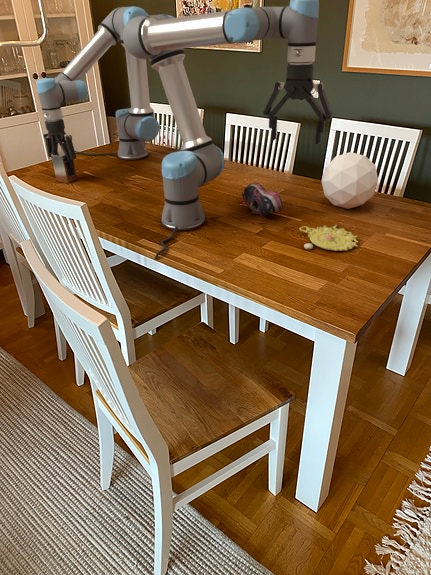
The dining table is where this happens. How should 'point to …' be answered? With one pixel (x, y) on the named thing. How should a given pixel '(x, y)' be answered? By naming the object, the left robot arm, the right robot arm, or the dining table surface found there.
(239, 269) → the dining table surface
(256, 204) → the athletic shoe
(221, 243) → the dining table surface
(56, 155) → the block
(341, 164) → the sphere
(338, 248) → the decorative object
